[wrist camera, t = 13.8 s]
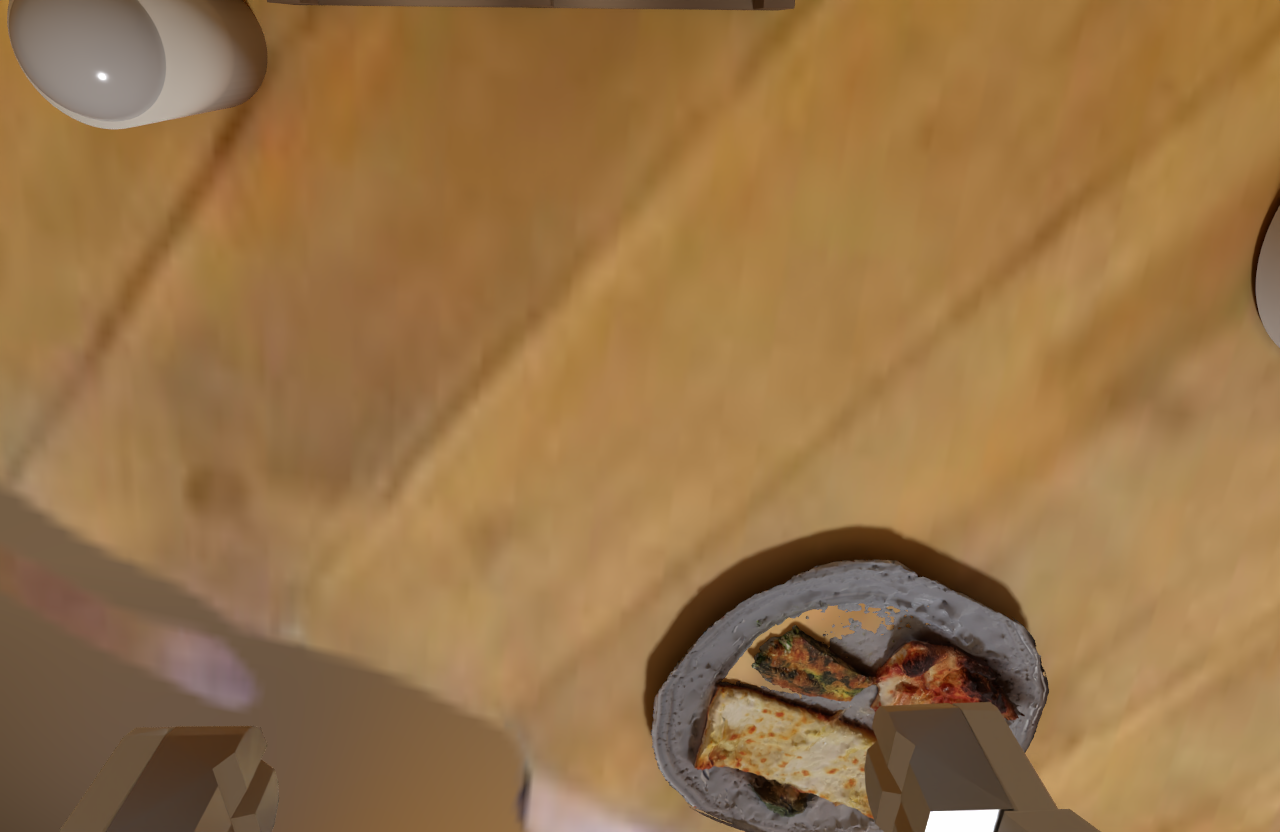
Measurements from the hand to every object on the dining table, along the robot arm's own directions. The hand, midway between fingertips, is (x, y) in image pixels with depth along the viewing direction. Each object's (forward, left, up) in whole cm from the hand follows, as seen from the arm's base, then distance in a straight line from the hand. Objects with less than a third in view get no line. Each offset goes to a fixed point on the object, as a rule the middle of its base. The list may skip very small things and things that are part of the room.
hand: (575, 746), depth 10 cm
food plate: (-16, +31, -30) cm, 46 cm away
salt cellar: (+16, -8, -29) cm, 34 cm away
